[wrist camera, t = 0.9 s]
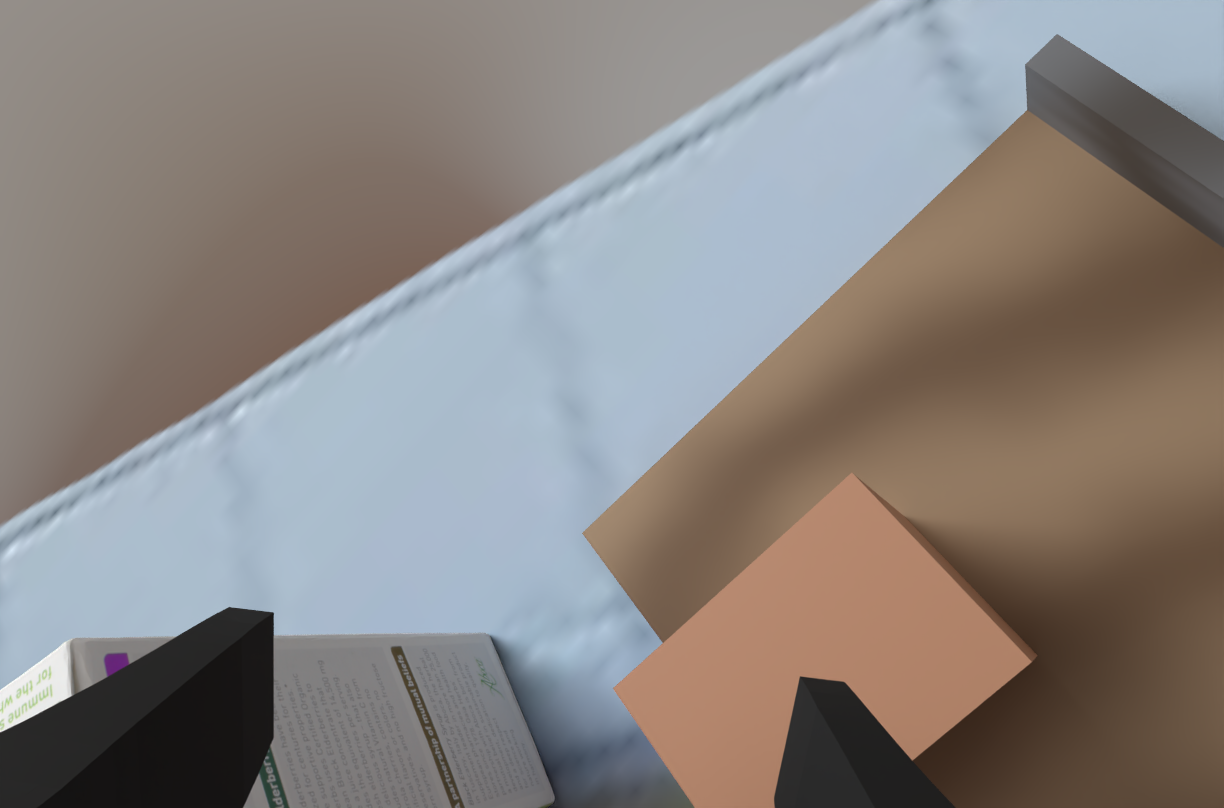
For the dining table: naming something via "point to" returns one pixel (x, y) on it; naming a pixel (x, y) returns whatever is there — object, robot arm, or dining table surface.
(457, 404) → the dining table surface
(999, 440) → the brown wooden pallet
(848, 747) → the robot arm
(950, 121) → the dining table surface
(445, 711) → the syrup box
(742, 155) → the dining table surface
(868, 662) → the tea tin
